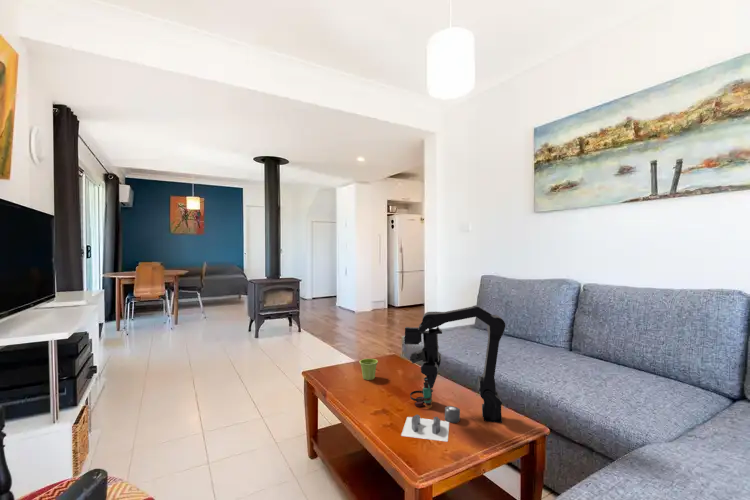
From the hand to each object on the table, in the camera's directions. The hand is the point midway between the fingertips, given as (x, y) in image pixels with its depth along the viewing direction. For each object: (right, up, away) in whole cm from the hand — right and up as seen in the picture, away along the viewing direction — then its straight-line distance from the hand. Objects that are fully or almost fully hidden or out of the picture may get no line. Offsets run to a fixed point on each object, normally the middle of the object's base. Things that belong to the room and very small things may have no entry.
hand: (432, 383), depth 134 cm
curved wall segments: (-4, -12, -11) cm, 17 cm away
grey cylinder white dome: (+7, -12, -5) cm, 14 cm away
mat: (-4, -12, -11) cm, 17 cm away
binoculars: (-3, -13, +9) cm, 16 cm away
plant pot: (-26, -13, +40) cm, 49 cm away
